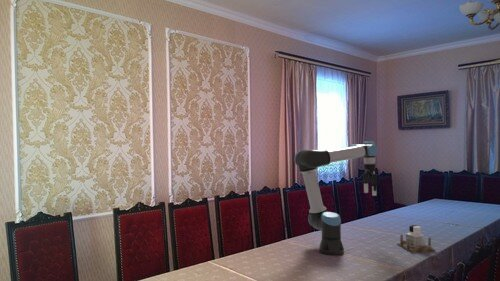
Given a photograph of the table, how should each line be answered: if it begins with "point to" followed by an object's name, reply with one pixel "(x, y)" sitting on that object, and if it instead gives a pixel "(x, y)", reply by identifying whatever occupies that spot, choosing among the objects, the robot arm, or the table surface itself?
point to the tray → (415, 248)
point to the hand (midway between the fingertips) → (370, 194)
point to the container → (415, 236)
